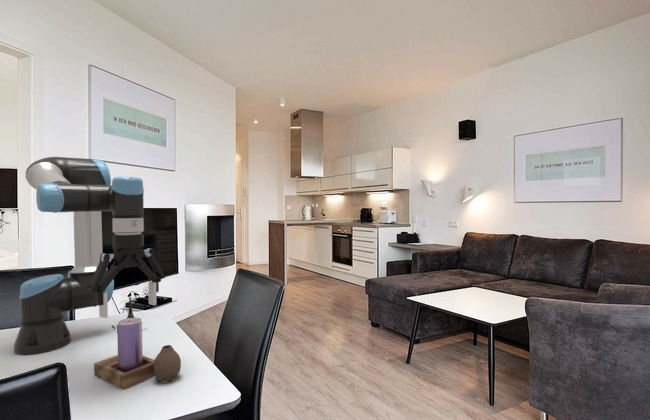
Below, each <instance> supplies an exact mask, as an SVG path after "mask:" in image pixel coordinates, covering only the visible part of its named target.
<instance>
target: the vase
mask: <svg viewBox="0 0 650 420" xmlns="http://www.w3.org/2000/svg"><path fill="white" fill-rule="evenodd" d="M154 360H155V361H154V365H153V372H154V375H155V377H154V378H155V379H156V380H157V381H159V382H161V383H168V382H172V381H174V380H176V378H177V377H178V375H179V374H180V371H181V367H182V361H181V357H180V355H179V353H178V352H177V350H175V349H174V348H173V346H172V345H171V344H166V345H163V346H162V347H161V349H160V351H159V352H158V353H157V355H156V356H155V359H154Z"/></svg>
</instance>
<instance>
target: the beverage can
mask: <svg viewBox="0 0 650 420" xmlns="http://www.w3.org/2000/svg"><path fill="white" fill-rule="evenodd" d="M117 325H118V326H116V329H117V332H116V333H117V334H116V335H117V355H118V370H119V371H122V372H124V373H125V372H128V371H130V370H133V369H135V368H138V367H141V366H143V356H144V355H143V322H142V318H141V317H134V318H127V317H126V318H123V319H121V320H119V321H118V322H117Z"/></svg>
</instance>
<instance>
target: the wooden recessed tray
mask: <svg viewBox="0 0 650 420" xmlns="http://www.w3.org/2000/svg"><path fill="white" fill-rule="evenodd" d="M154 361H155V359H153V358H150V357H148V356H145V355H143V366H141V367H138V368H135V369H133V370H130V371H128V372H125V373H124V372H122V371H119V370H118V354H116V355H114V356H110V357H108V358H105V359H102V360H99V361H97V362H94V363H93V373H94V374H93V376H94V377H96V378H99V379H100V380H103V381H104V382H106V383H108V384H111V385H113V386H114V387H118V388H119V389H121V390H126V389H129V388H131V387H134V386H135V385H138V384H140V383H143V382H145V381H147V380H151V379H152V378H156V377H155V375H154V372H153V365H154Z"/></svg>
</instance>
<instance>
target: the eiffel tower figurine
mask: <svg viewBox="0 0 650 420" xmlns="http://www.w3.org/2000/svg"><path fill="white" fill-rule="evenodd" d="M128 299H129V303H128V305H129V306H128V314H127V316H126V319H127V318H135V315H134V313H133V308H132V307H133V305H132V297H131V296H129V298H128ZM114 325H116V327H117V326H118V324H114ZM114 325H111V328H112V329H113V327H114ZM115 329H116V328H115ZM115 329H113V330H114V331H115ZM144 330H147V328H144V329H143V331H144Z"/></svg>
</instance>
